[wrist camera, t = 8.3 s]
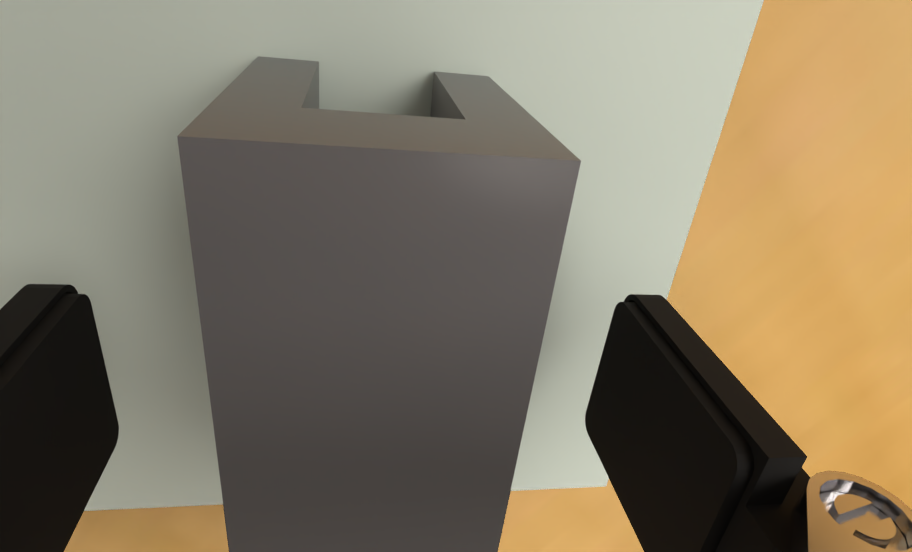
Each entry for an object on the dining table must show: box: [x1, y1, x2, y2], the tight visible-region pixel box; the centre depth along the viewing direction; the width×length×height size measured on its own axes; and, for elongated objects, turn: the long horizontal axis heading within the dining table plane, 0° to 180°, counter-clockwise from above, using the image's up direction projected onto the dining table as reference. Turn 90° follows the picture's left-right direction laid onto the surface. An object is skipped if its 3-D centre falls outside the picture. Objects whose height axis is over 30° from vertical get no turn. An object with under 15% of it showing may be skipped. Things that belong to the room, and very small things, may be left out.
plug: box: [177, 56, 581, 552], centre depth 10 cm, size 9×4×5 cm, turn 174°
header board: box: [0, 0, 764, 511], centre depth 11 cm, size 13×26×4 cm, turn 84°
